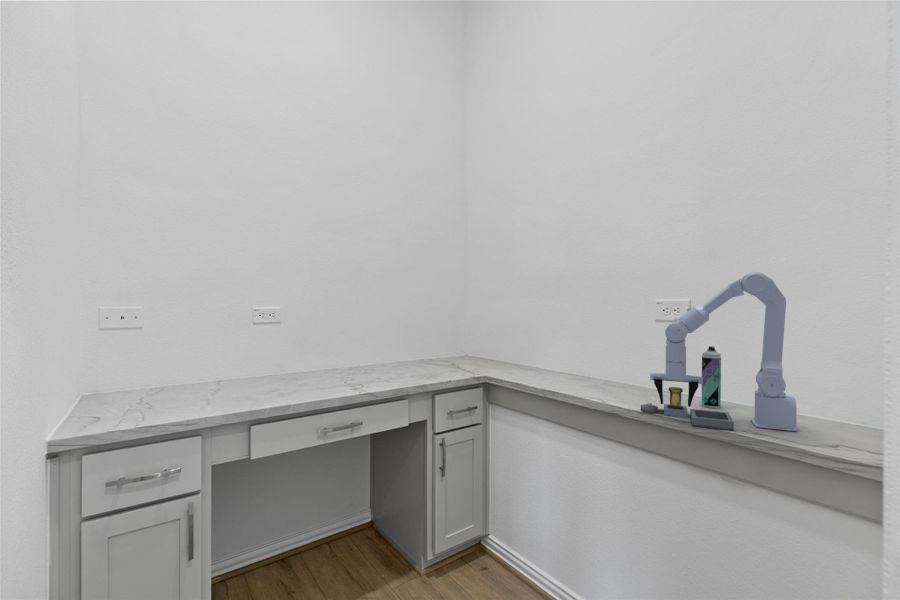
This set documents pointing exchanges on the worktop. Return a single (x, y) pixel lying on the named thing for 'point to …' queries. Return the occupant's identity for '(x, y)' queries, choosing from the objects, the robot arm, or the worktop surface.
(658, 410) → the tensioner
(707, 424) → the tray
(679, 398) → the pin
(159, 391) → the worktop surface
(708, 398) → the spray can
